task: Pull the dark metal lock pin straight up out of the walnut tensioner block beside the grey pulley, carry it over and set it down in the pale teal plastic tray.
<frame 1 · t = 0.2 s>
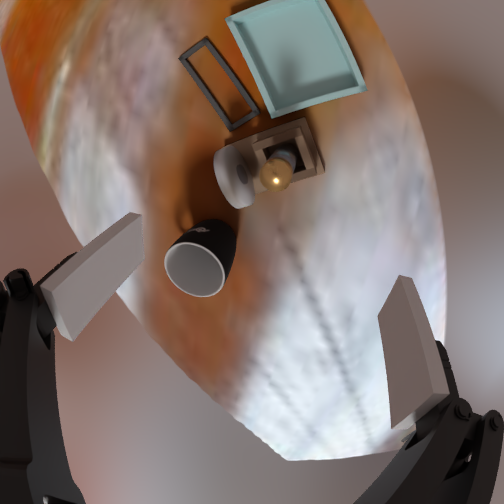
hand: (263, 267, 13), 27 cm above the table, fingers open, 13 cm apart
dark gray rectangular frame: (218, 82, 32), on the table
pin: (286, 154, 35), point 1 cm above the table, touching tensioner block
tray: (296, 52, 28), on the table
mug: (209, 239, 46), on the table
tensioner block: (274, 157, 36), on the table
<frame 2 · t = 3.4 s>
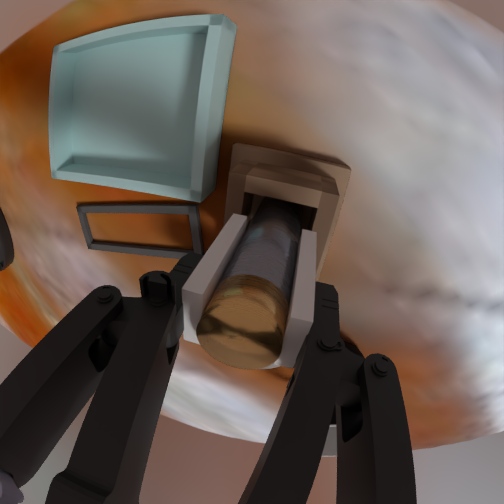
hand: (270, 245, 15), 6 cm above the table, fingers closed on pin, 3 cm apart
dark gray rectangular frame: (133, 228, 24), on the table
pin: (281, 210, 19), point 1 cm above the table, touching gripper, tensioner block
tray: (133, 103, 18), on the table
mug: (328, 365, 28), on the table
tensioner block: (277, 229, 21), on the table
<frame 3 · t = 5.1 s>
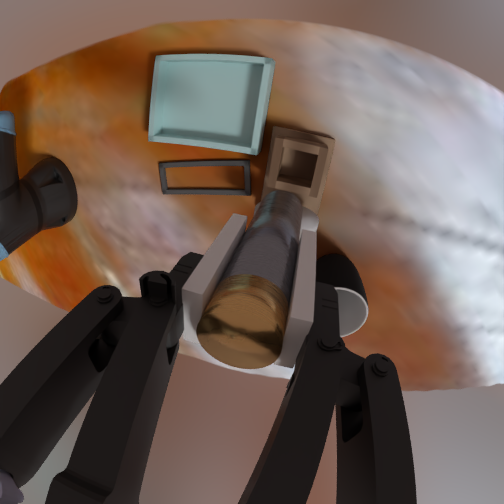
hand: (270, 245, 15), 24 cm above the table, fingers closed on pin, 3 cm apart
dark gray rectangular frame: (203, 177, 39), on the table
pin: (281, 210, 19), point 18 cm above the table, touching gripper
tray: (211, 99, 33), on the table
mug: (330, 277, 43), on the table
tensioner block: (296, 174, 36), on the table
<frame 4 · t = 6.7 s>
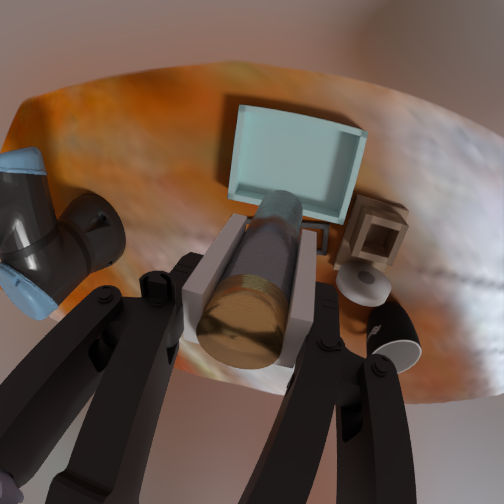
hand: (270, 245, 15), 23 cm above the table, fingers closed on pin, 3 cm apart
dark gray rectangular frame: (280, 235, 41), on the table
pin: (281, 210, 19), point 18 cm above the table, touching gripper
tray: (296, 160, 34), on the table
mug: (383, 320, 45), on the table
tensioner block: (369, 238, 38), on the table
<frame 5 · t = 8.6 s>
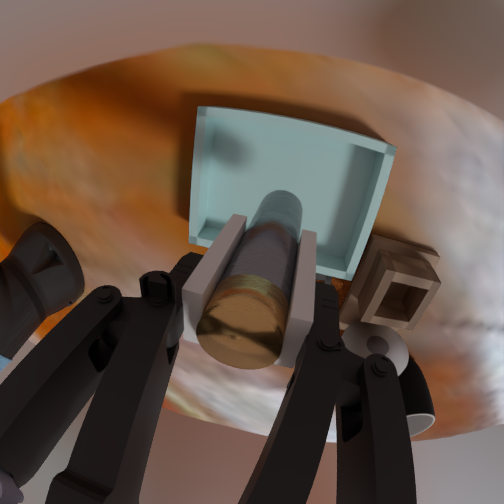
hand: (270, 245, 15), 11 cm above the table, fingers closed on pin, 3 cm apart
pin: (281, 210, 19), point 6 cm above the table, touching gripper
tray: (286, 186, 24), on the table
mug: (391, 374, 35), on the table
tensioner block: (384, 290, 27), on the table
when the fingers open (7 cm above the table, at t = 10.2 s): pin stays where it is, resting on tray.
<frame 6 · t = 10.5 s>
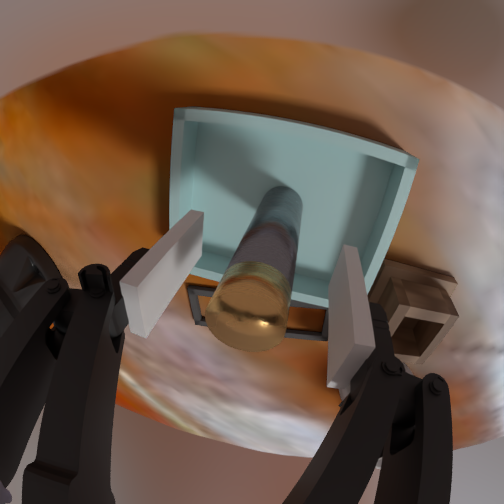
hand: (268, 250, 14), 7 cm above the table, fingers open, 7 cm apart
dark gray rectangular frame: (259, 313, 26), on the table
pin: (282, 205, 20), point 1 cm above the table, touching tray
tray: (283, 203, 20), on the table
tensioner block: (394, 318, 23), on the table
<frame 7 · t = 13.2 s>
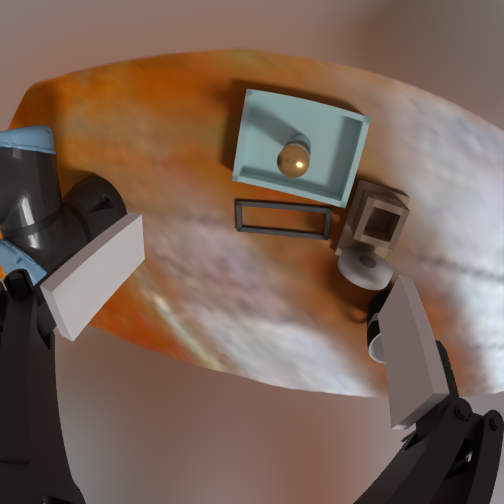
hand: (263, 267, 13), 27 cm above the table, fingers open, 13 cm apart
dark gray rectangular frame: (283, 219, 41), on the table
pin: (299, 144, 34), point 1 cm above the table, touching tray
tray: (300, 144, 35), on the table
mug: (383, 309, 45), on the table
tensioner block: (371, 224, 38), on the table
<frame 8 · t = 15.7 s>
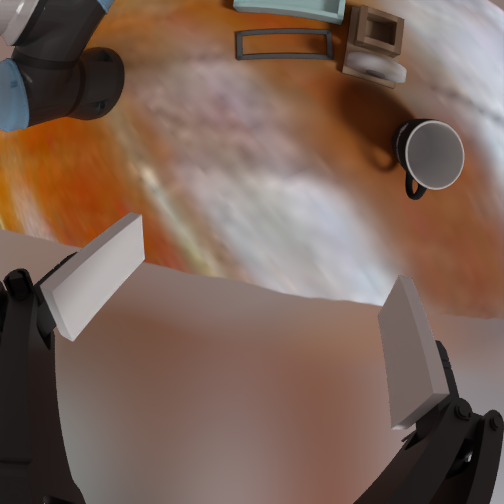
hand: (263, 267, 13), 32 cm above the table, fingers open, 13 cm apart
dark gray rectangular frame: (284, 43, 31), on the table
mug: (408, 152, 35), on the table
tensioner block: (373, 46, 28), on the table
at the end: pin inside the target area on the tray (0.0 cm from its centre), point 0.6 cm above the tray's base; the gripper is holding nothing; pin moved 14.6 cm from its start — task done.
